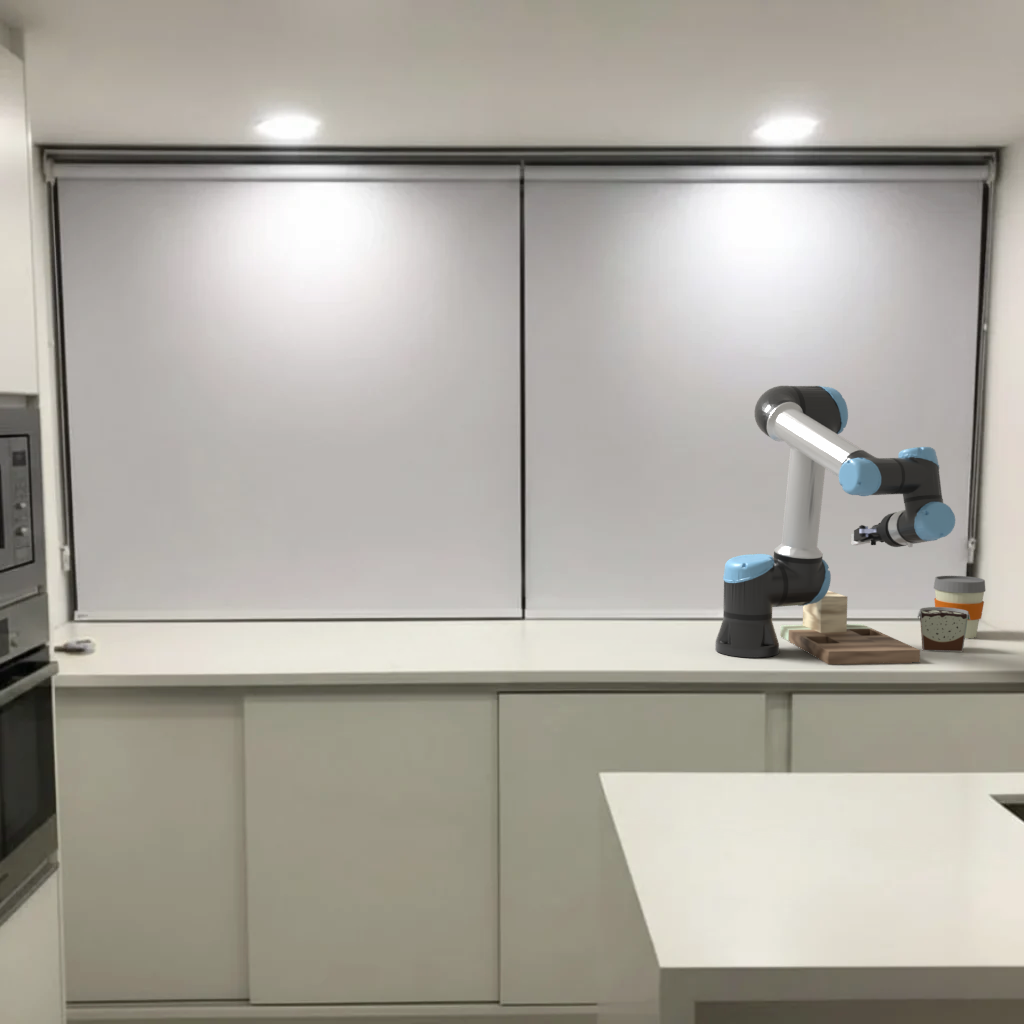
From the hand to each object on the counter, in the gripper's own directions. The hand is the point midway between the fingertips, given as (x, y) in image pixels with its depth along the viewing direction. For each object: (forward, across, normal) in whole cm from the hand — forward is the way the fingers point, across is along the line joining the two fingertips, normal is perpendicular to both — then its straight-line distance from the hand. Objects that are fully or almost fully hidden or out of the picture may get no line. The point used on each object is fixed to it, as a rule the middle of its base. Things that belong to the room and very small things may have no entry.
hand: (854, 539), depth 251 cm
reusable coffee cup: (+25, +40, -22) cm, 52 cm away
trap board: (+12, +3, -26) cm, 29 cm away
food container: (+10, +26, -26) cm, 38 cm away
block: (+22, +2, -21) cm, 30 cm away
